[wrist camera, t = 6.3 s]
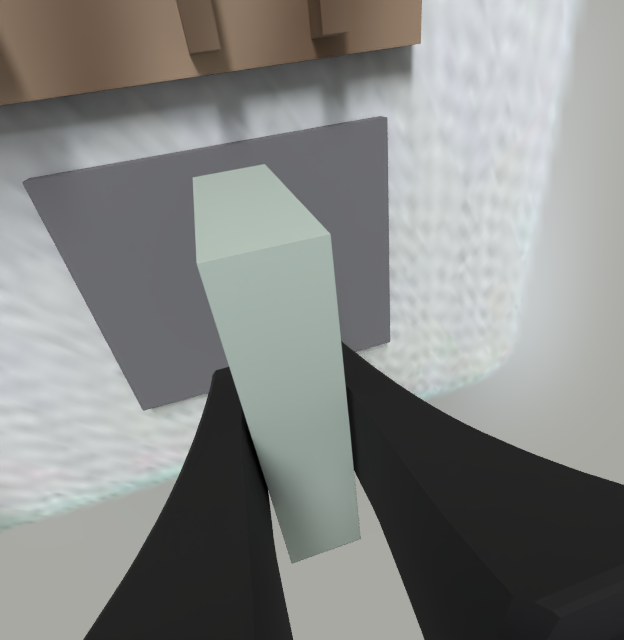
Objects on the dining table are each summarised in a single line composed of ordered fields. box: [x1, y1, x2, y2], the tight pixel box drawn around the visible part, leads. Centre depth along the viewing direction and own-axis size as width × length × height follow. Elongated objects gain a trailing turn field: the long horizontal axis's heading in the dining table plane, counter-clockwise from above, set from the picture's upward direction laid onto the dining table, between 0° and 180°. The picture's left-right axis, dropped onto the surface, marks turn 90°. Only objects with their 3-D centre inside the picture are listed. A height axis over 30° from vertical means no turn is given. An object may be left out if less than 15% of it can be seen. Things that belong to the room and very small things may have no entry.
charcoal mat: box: [22, 116, 390, 411], centre depth 16 cm, size 12×10×1 cm
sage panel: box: [193, 164, 361, 563], centre depth 11 cm, size 2×9×6 cm, turn 8°
